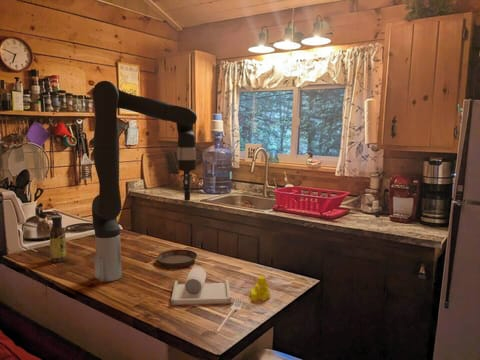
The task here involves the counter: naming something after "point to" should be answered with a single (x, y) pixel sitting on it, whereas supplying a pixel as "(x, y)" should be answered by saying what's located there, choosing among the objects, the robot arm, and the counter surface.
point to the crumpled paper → (260, 290)
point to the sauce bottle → (57, 240)
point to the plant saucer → (176, 258)
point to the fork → (231, 312)
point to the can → (195, 280)
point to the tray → (202, 294)
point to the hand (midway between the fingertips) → (187, 200)
